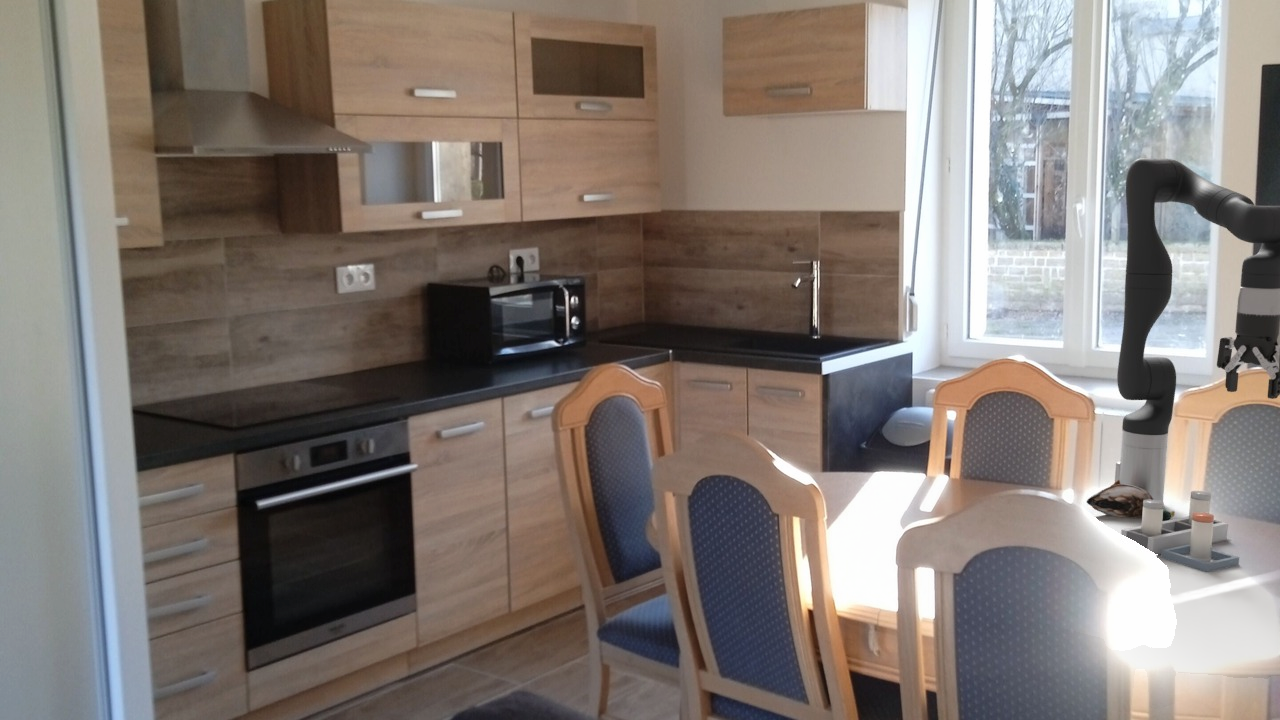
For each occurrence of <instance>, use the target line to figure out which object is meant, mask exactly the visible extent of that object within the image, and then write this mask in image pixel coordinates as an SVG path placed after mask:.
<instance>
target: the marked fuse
mask: <svg viewBox="0 0 1280 720" xmlns="http://www.w3.org/2000/svg"><path fill="white" fill-rule="evenodd" d="M1214 520H1215V516H1214V514H1212V513H1204V512H1195V513H1193V514H1192V528H1191V543H1190V553H1189V557H1191V558H1194V559H1197V560H1201V561H1204V562H1207V563H1208V562H1212V561H1211V560H1212V558H1211V550H1212V549H1213V546H1212V545H1213V544H1212V535H1213V521H1214Z"/></svg>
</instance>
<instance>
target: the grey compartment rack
mask: <svg viewBox="0 0 1280 720" xmlns="http://www.w3.org/2000/svg"><path fill="white" fill-rule="evenodd" d="M1188 523H1189V515H1188V516H1183V517H1178V518H1174V519H1172V518H1171V519H1170V520H1167V521H1162V533H1161V535H1157V536H1153V537H1151V536H1148V535H1144V534H1141V526H1142V525H1138V526H1132V527H1127V528H1121V532H1120V535H1121V534H1122V535H1124V536H1126V537H1128V538H1130V539H1132V540H1134V541H1136V542H1137V543H1139V544H1140V545H1142V546H1144V547H1145V548H1147V549H1149V550H1150V551H1152V552H1154V553H1155V554H1158V556H1157V557H1161V554H1162V550H1164V549H1169V548H1174V547H1178V546H1183V545H1188V544H1190V543H1191V528H1192V525H1191V524H1188ZM1228 527H1229V524H1228V523H1227V522H1223V521H1219V520H1215V519H1214V521H1213V535H1212V545H1215V544H1221V543H1225V542H1229V541H1231V539H1229V538H1228Z"/></svg>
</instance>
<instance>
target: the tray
mask: <svg viewBox="0 0 1280 720" xmlns="http://www.w3.org/2000/svg"><path fill="white" fill-rule="evenodd" d="M1188 554H1189V555H1190V544H1188V545H1183V546H1178V547H1174V548H1169V549H1164V550H1162V554H1161V556H1160V557H1161V558H1162V559H1164V560H1166V561H1167V560H1168V561H1171V562H1174V563H1178V564H1181V565H1184V566H1187V567H1191V568H1193V569H1196V570H1198V571H1199V570H1200V571H1203V572H1206V573H1210V572H1214V571H1215V572H1216V571H1218V570H1222V569H1228V568H1231V567H1237V566H1240V557H1239V556H1236V555H1233V554H1229V553H1226V552H1222V551H1219V550H1215V549H1213V548H1212V550H1211V560H1212V559H1213V561H1211V562H1208V563H1207V562H1204V561H1201V560H1197V559H1194V558H1191V557H1190V556H1187V555H1188Z"/></svg>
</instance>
